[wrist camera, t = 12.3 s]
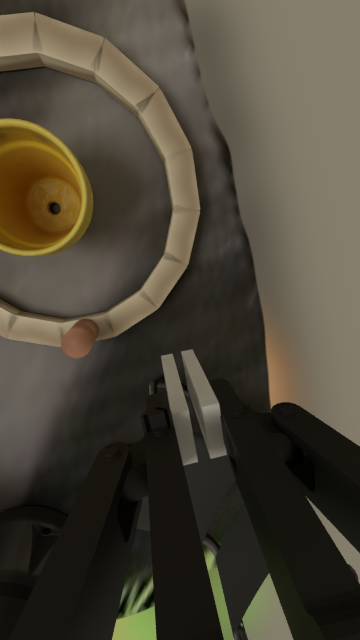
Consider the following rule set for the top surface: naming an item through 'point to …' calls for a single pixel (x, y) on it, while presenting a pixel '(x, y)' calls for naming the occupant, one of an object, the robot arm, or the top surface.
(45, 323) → the beige segmented ring
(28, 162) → the plant pot
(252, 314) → the top surface
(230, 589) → the chair
